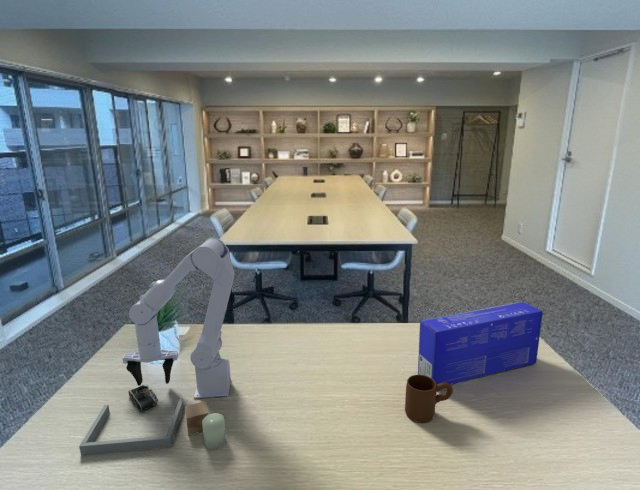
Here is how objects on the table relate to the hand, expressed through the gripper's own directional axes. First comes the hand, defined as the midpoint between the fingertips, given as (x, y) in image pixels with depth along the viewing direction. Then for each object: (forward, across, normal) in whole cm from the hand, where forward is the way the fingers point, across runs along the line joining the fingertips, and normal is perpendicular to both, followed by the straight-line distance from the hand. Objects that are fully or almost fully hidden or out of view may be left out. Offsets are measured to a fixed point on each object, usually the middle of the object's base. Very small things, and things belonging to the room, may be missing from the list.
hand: (154, 382), depth 115 cm
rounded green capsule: (+2, -20, +23) cm, 31 cm away
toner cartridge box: (+2, -97, +2) cm, 97 cm away
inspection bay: (+2, 0, +16) cm, 17 cm away
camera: (+2, +2, +5) cm, 6 cm away
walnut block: (+2, -15, +17) cm, 23 cm away
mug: (+2, -74, +20) cm, 77 cm away
